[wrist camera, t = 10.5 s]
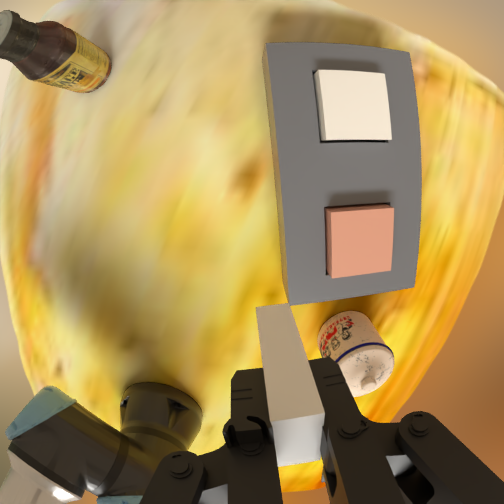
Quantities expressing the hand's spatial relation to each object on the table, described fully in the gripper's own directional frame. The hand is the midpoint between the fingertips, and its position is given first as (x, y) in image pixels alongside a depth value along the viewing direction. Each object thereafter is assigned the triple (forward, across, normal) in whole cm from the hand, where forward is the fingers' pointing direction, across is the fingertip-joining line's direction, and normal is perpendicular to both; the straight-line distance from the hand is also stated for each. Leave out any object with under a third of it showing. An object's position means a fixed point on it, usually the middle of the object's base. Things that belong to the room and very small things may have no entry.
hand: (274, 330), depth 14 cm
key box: (+23, -11, -5) cm, 26 cm away
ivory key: (+19, -11, -12) cm, 26 cm away
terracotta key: (+20, -11, +2) cm, 23 cm away
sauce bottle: (+24, +18, -23) cm, 37 cm away
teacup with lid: (+24, -11, +20) cm, 33 cm away
